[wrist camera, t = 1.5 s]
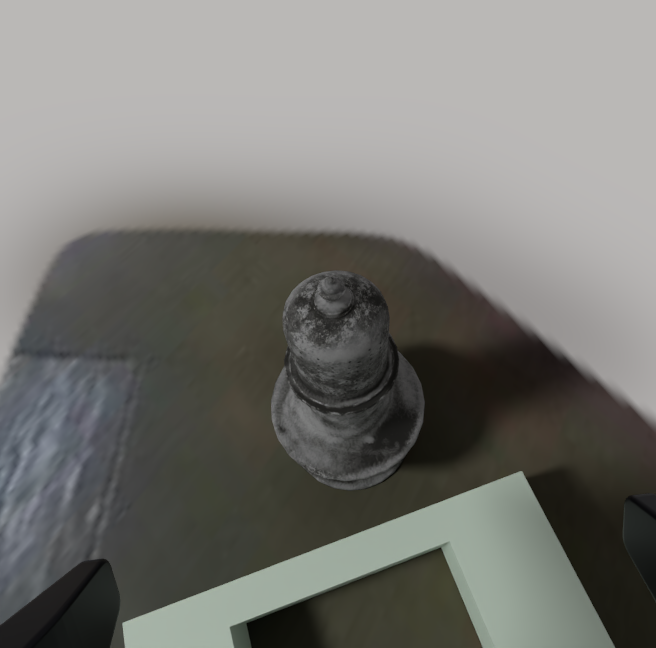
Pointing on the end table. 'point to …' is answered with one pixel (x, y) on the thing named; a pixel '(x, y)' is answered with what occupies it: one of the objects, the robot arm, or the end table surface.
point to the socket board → (399, 546)
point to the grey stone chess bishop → (344, 384)
